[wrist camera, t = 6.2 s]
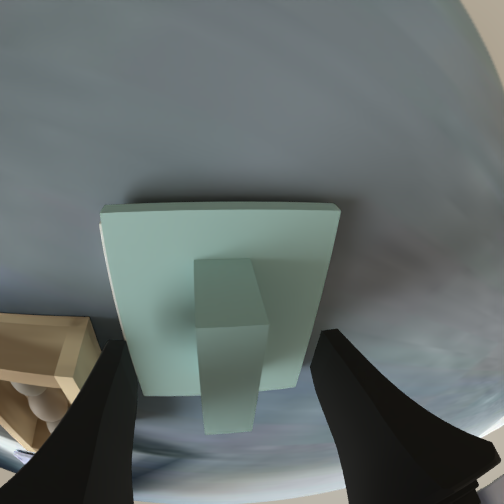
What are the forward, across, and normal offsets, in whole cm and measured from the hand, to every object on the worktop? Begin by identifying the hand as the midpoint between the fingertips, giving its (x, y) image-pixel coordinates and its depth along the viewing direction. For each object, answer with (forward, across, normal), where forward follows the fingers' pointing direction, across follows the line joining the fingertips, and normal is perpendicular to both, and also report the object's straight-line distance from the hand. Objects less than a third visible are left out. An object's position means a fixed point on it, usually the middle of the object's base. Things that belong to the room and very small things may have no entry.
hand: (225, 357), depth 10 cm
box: (+3, +9, +5) cm, 11 cm away
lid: (+2, 0, 0) cm, 2 cm away
